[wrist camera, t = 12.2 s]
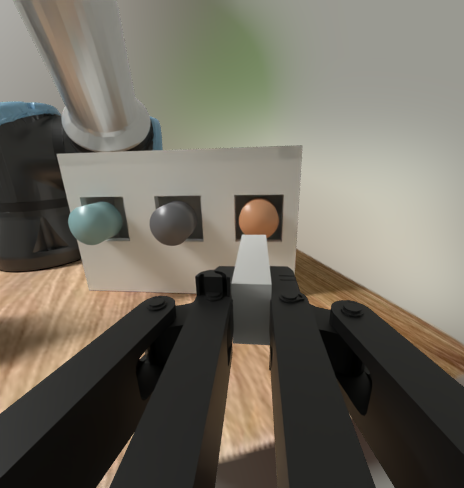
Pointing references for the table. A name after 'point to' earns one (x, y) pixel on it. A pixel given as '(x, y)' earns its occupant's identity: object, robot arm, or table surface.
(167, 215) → the charcoal button
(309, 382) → the robot arm
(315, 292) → the table surface
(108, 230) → the teal button
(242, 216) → the terracotta button
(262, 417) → the table surface
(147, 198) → the console
